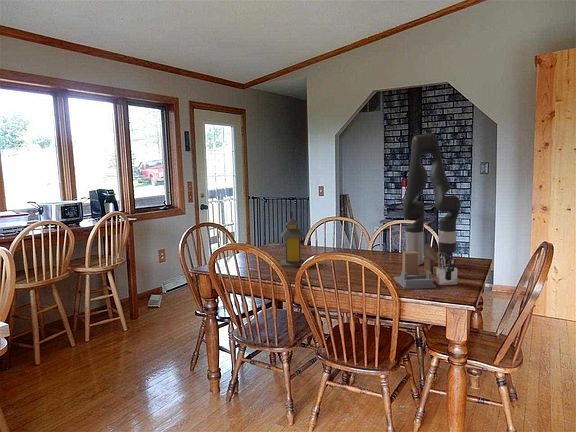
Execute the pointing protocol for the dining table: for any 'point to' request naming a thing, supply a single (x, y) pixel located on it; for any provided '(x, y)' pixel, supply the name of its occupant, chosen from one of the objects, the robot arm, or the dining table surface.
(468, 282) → the dining table surface
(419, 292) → the dining table surface
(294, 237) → the lantern
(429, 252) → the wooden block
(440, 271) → the pale grey block
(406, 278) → the post footing
